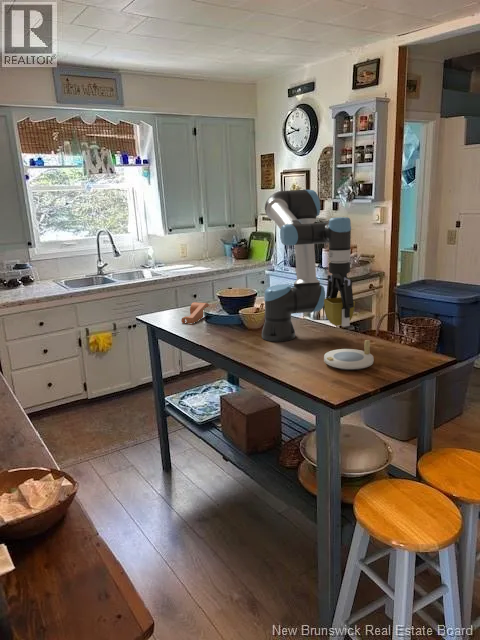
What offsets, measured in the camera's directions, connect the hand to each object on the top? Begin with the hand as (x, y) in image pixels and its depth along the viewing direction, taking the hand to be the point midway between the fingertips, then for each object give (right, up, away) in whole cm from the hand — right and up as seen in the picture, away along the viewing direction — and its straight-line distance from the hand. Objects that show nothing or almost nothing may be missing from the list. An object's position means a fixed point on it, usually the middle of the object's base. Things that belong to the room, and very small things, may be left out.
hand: (339, 323), depth 175 cm
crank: (-60, +1, +79) cm, 99 cm away
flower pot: (0, -1, 0) cm, 1 cm away
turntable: (+4, -14, +3) cm, 15 cm away
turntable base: (+4, -16, +4) cm, 16 cm away
